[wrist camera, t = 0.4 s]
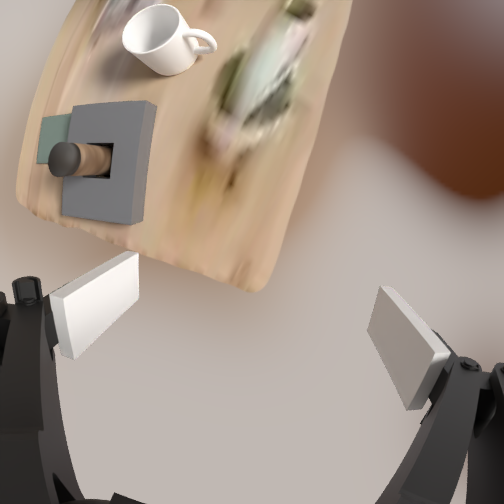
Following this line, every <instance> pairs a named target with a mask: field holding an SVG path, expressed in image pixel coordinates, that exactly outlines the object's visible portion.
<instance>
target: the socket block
mask: <svg viewBox="0 0 504 504" xmlns="http://www.w3.org/2000/svg"><path fill="white" fill-rule="evenodd" d="M156 110H157V106H155V105H154V104H152V103H150V102H148V101H123V102H108V103H97V104H87V105H78V106H73V110H72V115H71V121H70V127H69V133H68V140H67V142H69V143H79V144H87V145H96V146H100V145H114V147H113V155H112V163H111V173H110V178H106V177H97V175H83V176H64V178H63V195H62V215H65V216H72V217H79V218H86V219H93V220H100V221H107V222H113V223H120V224H127V225H133V224H136V223H139V222H142V221H143V214H144V201H145V190H146V180H147V171H148V163H149V155H150V148H151V141H152V134H153V127H154V121H155V115H156Z"/></svg>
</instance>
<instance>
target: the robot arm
mask: <svg viewBox="0 0 504 504" xmlns="http://www.w3.org/2000/svg"><path fill="white" fill-rule="evenodd" d="M138 255H139V253H138V252H131V251H125V252H124V253H122V254H120V255H118V256H116V257H114V258H112V259H110V260H109V261H107V262H105V263H103V264H101V265H100V266H98V267H96V268H94V269H92V270H91V271H89V272H87V273H85V274H83V275H82V276H80V277H78V278H76V279H75V280H73V281H71V282H69V283H67V284H65V285H63V286H62V287H60V288H58V289H57V290H55V291H53V292H52V293H50V294H48V295H47V296H45V297H43V295H42V289H41V281H40V279H39V278H37V277H33V276H27V277H21V278H18V279H16V280H14V281H13V283H12V287H13V293H14V298H15V304H8V303H7V302H6V297H5V293H3V292H0V504H145V503H141V502H139V501H136V500H133V499H130V498H127V497H125V496H122V495H119V494H117V493H114V494H113V496H112V499H111V500H110V501H108V500H99V499H85V498H84V496H83V494H82V493H81V491H80V489H79V486H78V483H77V480H76V477H75V473H74V470H73V467H72V462H71V458H70V454H69V450H68V446H67V441H66V436H65V431H64V426H63V421H62V415H61V408H60V401H59V395H58V385H57V376H56V363H55V353H54V350H53V347H54V346H55V345H56V344H58V343H59V347H60V351H61V355H63V356H66V357H68V358H70V359H73V360H76V359H77V358H78V357H79V356H80V354H82V353H83V352H84V351H85V350H86V349H87V348H88V347H89V346H90V345H91V344H92V343H93V342H94V341H95V340H96V339H97V338H98V337H99V336H100V335H101V334H102V333H103V332H104V331H105V330H106V329H107V328H108V327H109V326H110V325H111V324H113V322H115V320H117V319H118V318H119V317H120V316H121V315H122V314H123V313H124V312H125V311H126V310H127V309H128V308H129V307H131V306H132V305H133V304H134V303H135V302H136V301H137V300H138V299H139V277H138V276H139V271H138ZM367 332H368V333H369V335H370V337H371V339H372V341H373V343H374V345H375V347H376V349H377V351H378V353H379V355H380V357H381V359H382V361H383V363H384V365H385V367H386V369H387V371H388V373H389V375H390V377H391V379H392V381H393V383H394V385H395V387H396V389H397V391H398V393H399V396H400V398H401V400H402V402H403V404H404V406H405V408H406V410H418V409H422V408H423V406H424V405H425V403H426V401H427V399H428V397H429V399H430V401H431V403H432V405H431V406H430V408H429V410H428V411H427V413H426V415H425V416H424V418H423V420H422V421H421V423H420V424H421V427H420V429H419V431H418V433H417V435H416V437H415V439H414V441H413V443H412V445H411V447H410V449H409V450H408V452H407V454H406V456H405V457H404V459H403V461H402V463H401V464H400V466H399V468H398V469H397V471H396V473H395V474H394V476H393V478H392V479H391V481H390V482H389V484H388V485H387V487H386V488H385V490H384V491H383V493H382V494H381V496H380V497H379V499H378V500H377V502H376V503H375V504H450V502H451V499H452V497H453V494H454V491H455V489H456V486H457V483H458V480H459V477H460V474H461V471H462V468H463V465H464V461H465V458H466V454H467V451H468V477H467V494H466V504H504V363H497V364H496V365H495V367H494V368H493V371H492V372H491V373H489V372H482V369H481V366H480V365H479V364H478V363H477V362H476V361H474V360H472V359H471V358H468V357H458V356H457V355H456V354H455V353H454V351H453V350H452V349H451V348H450V347H449V346H448V345H447V344H446V342H445V341H443V339H442V338H441V336H440V335H439V334H438V333H436V332H435V331H433V330H432V329H430V328H429V327H428V326H427V324H426V323H425V322H424V321H423V320H422V319H421V318H420V316H419V315H418V314H417V313H416V312H415V311H414V310H413V309H412V308H411V307H410V306H409V305H408V303H407V302H406V301H405V300H404V299H403V298H402V297H401V296H400V295H399V294H398V293H397V292H396V291H395V290H394V289H393V288H392V287H387V286H380V287H379V291H378V294H377V298H376V302H375V305H374V309H373V312H372V316H371V319H370V323H369V326H368V329H367Z"/></svg>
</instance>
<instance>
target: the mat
mask: <svg viewBox="0 0 504 504" xmlns="http://www.w3.org/2000/svg"><path fill="white" fill-rule="evenodd" d="M71 115H72V114H65V115H57V116H50V117H44V118H43V119H42V125H41V132H40V139H39V146H38V155H37V163H48V158H49V154H50V151H51V149H52V148H53V146H54V145H55V144H57V143H59V142H67V140H68V133H69V127H70V121H71Z"/></svg>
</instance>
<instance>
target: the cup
mask: <svg viewBox="0 0 504 504" xmlns="http://www.w3.org/2000/svg"><path fill="white" fill-rule="evenodd" d="M196 37H197V38H201V39H203V40H204V41H206V42H207V43H208V45H209V47H200V46H199V44H198V41H197V39H196ZM122 43H123V45H124V47H125V49H126V50H128V51H129V52H130V53H132V54H133V55H134V56H135V57H137V58H138V59H139V60H141V61H142V62H143V63H145V64H146V65H147V66H148V67H150V68H151V69H152V70H153V71H155V72H156V73H158V74H161V75H166V76H170V75H176V74H179V73H182V72H184V71H185V70H187V69H188V68H189V67H191V66H192V65H193V63H194V62H195V61H196V59H197V57H198V54H210V53H213V52H214V51H216V49H217V43H216V41H215V39H214V38H213V37H212V36H211V35H210V34H208V33H207V32H205V31H203V30H199V29H190V28H189V26H188V25H187V23H186V22H185V20H184V18H183V17H182V15H181V14H180V12H179V11H178V10H177V9H176V8H175V7H173V6H171V5H168V4H156V5H152V6H149V7H146V8H144V9H143V10H141V11H139V12H138V13H136V14H135V15H134V16H133V17H132V18H131V19H130V20H129V22H128V23H127V24H126V26H125V28H124V30H123V34H122Z"/></svg>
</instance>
